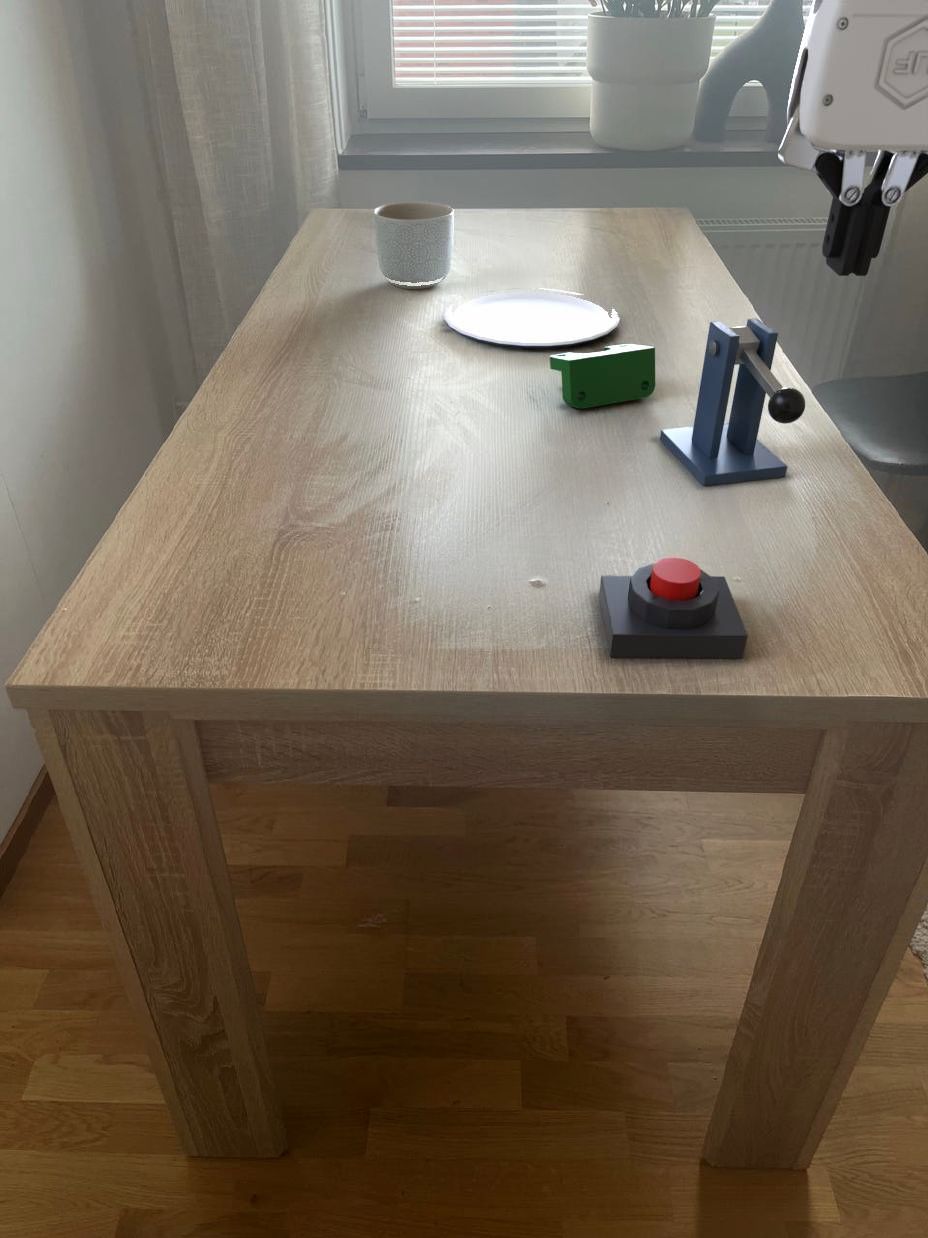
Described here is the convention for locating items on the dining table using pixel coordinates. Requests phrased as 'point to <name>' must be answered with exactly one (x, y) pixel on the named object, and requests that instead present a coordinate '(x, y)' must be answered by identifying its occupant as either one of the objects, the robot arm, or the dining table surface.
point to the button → (675, 579)
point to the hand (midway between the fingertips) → (845, 269)
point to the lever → (768, 379)
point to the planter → (414, 241)
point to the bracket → (711, 442)
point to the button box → (670, 619)
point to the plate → (531, 319)
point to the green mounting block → (606, 375)
